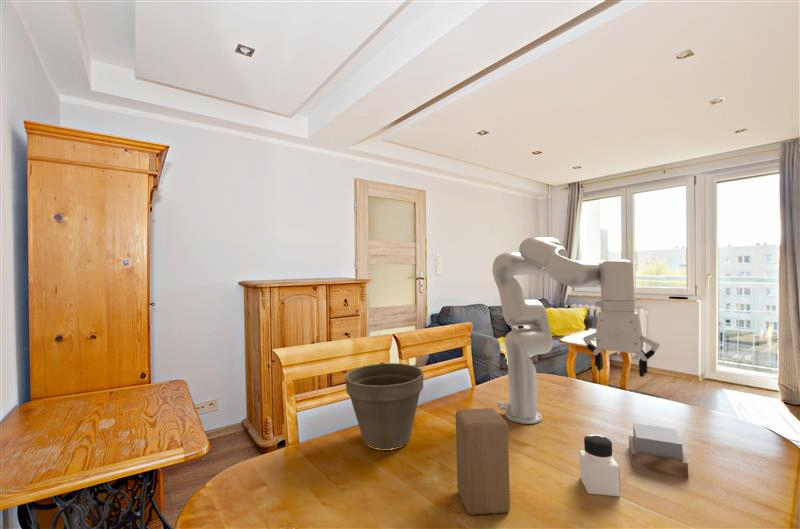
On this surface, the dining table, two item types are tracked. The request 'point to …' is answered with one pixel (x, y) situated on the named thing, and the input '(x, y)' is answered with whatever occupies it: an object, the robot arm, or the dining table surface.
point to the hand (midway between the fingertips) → (620, 372)
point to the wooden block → (482, 461)
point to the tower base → (657, 462)
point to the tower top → (657, 441)
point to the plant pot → (385, 402)
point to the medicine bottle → (599, 466)
